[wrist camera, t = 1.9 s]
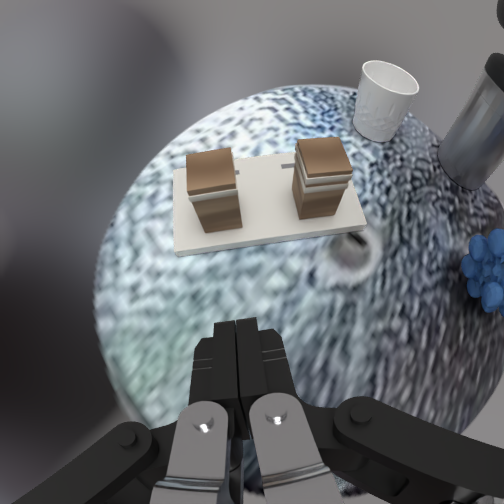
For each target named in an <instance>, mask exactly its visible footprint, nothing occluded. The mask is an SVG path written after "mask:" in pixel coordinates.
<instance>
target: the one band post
mask: <svg viewBox="0 0 504 504" xmlns="http://www.w3.org/2000/svg"><path fill="white" fill-rule="evenodd" d="M186 181H187V193H188V199H189V201H190V202H192V205H193V207H194V209H195V212H196V214H197V216H198V218H199V221H200V223H201V225H202V228H203V230H204V232H205V233H209V232H216V231H222V230H229V229H236V228H243V226H242V219H241V211H240V204H239V197H238V188H237V180H236V173H235V166H234V159H233V152H231V147H230V148H224V149H217V150H211V151H205V152H200V153H194V154H189V155H186Z"/></svg>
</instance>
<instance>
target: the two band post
mask: <svg viewBox="0 0 504 504" xmlns="http://www.w3.org/2000/svg"><path fill="white" fill-rule="evenodd" d="M295 150H296V153H295V154H294V160H295V165H294V174H293V182H292V192H293V196H294V200H295V204H296V208H297V212H298V216H299V220H300V219H307V218H315V217H323V216H331V215H335V213H336V211H337V209H338V206H339V204H340V201H341V199H342V196H343V194H344V191H345V189H347V188H348V186H349V183H348V181H349V180H351V178H352V176H353V175H352V171H353V169H352V167H351V164H350V162H349V159H348V157H347V154H346V152H345V150H344V147H343V145H342V143H341V140H340V138H339V137H327V138H312V139H299V140H297V143H296V145H295Z"/></svg>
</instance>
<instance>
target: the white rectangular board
mask: <svg viewBox="0 0 504 504" xmlns="http://www.w3.org/2000/svg"><path fill="white" fill-rule="evenodd" d="M295 153H296V152H291V153H281V154H272V155H264V156H256V157H248V158H241V159H234V166H235V173H236V180H237V188H238V197H239V204H240V211H241V219H242V226H243V228H236V229H229V230H222V231H216V232H209V233H205V232H204V230H203V228H202V225H201V223H200V221H199V218H198V216H197V214H196V212H195V209H194V207H193V205H192V202H190V201H189V199H188V193H187V181H186V168H181V169H176V170H173V230H174V252H175V254H176V255H177V256H178V257H181V256H188V255H194V254H201V253H208V252H215V251H221V250H228V249H235V248H242V247H249V246H255V245H262V244H269V243H276V242H283V241H290V240H297V239H304V238H311V237H318V236H325V235H332V234H339V233H346V232H353V231H361V230H364V228H365V226H366V225H367V223H366V220H365V217H364V214H363V211H362V208H361V205H360V202H359V199H358V196H357V193H356V191H355V188H354V185H353V182H352V180H349V181H348V183H349V186H348V188H347V189H345V191H344V194H343V196H342V199H341V201H340V204H339V206H338V209H337V211H336V213H335V215H331V216H323V217H315V218H307V219H300V220H299V216H298V212H297V208H296V204H295V200H294V196H293V192H292V182H293V174H294V165H295V160H294V154H295Z"/></svg>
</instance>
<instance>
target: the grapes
mask: <svg viewBox="0 0 504 504" xmlns="http://www.w3.org/2000/svg"><path fill="white" fill-rule="evenodd" d="M468 249H469V254H467V255H465V256H464V258H463V259H462V264H461V267H462V271H463V273H464V275H465V276H466V277H467V278H469V279H468V281H467V290H468V293H469V294H470V296H471V297H473V298H479V297H481V296H482V299H481V304H482V308H483V309H484V311H485V312H487V313H491V312H493V311H495V310H496V309H497V308H498V307H499V312H500V313H501V315H502V316H503V317H504V230H503V229H497V228H496V229H494V230H492V231H491V232H490V234H489V236H488V240H487V239H486V237H484V236H483V235H475V236H474V237H472V238H471V240H470V242H469V248H468Z"/></svg>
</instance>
